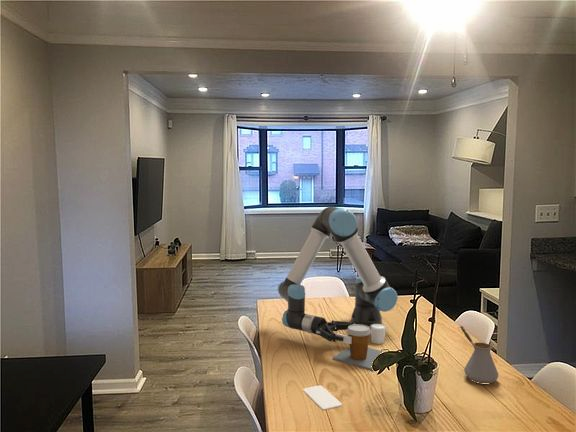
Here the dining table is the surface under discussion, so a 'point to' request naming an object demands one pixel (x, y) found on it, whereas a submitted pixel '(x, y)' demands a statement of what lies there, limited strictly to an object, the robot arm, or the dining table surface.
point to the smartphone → (322, 397)
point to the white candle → (378, 333)
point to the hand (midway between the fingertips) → (359, 335)
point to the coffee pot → (480, 363)
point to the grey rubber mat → (364, 363)
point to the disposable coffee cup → (359, 341)
